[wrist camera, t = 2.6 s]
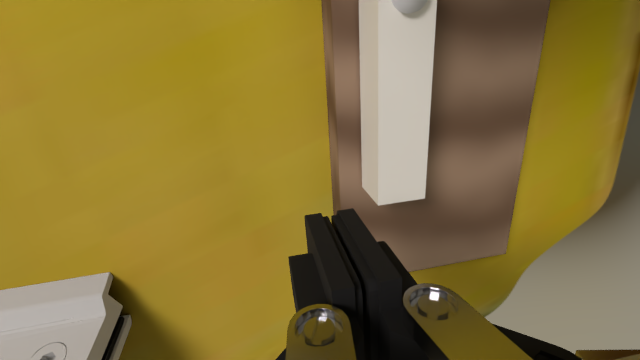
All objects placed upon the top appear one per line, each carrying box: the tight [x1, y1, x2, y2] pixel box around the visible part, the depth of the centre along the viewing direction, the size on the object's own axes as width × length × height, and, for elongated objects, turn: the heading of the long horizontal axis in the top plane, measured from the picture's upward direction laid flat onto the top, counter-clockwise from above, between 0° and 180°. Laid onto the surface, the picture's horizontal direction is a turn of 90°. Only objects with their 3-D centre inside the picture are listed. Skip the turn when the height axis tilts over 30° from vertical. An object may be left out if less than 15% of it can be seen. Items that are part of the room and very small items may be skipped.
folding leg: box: [359, 0, 437, 206], centre depth 18 cm, size 12×3×3 cm, turn 4°
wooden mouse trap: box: [322, 0, 550, 272], centre depth 21 cm, size 24×14×6 cm, turn 4°
